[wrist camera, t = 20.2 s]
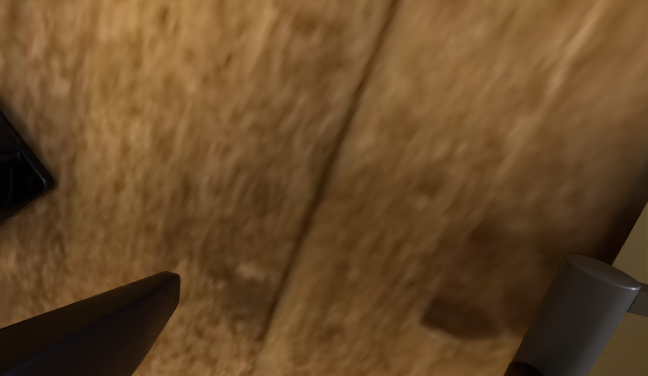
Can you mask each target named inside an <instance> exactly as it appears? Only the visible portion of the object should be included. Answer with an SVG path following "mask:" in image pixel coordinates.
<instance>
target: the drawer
mask: <svg viewBox="0 0 648 376" xmlns="http://www.w3.org/2000/svg"><path fill="white" fill-rule="evenodd" d="M512 361H520V362H524V363H527V364H530V365H532V366H533V367H534V368H535V369H537V370H538V371H539V372H540V373H541V374H542V375H544V376H648V202H647V204H646V206H645V207H644V209H643V211H642V213H641V215H640V216H639V218H638V220H637V222H636V223H635V225H634V227H633V229H632V231H631V232H630V234H629V236H628V238H627V240H626V241H625V243H624V245H623V247H622V248H621V250H620V252H619V254H618V256H617V257H616V259H615V261H614V263H613V264H612V266H611V265H609V264H607V263H604V262H602V261H599V260H596V259H593V258H590V257H587V256H583V255H578V254H567V255H565V256H564V258H563V260H562V262H561V264H560V266H559V268H558V270H557V272H556V274H555V276H554V278H553V280H552V282H551V284H550V286H549V288H548V290H547V292H546V294H545V296H544V298H543V300H542V302H541V304H540V306H539V308H538V310H537V312H536V314H535V316H534V318H533V320H532V322H531V324H530V326H529V328H528V330H527V332H526V334H525V336H524V338H523V340H522V342H521V344H520V346H519V348H518V350H517V352H516V354H515V356H514V358H513V360H512Z"/></svg>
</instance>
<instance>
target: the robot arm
mask: <svg viewBox="0 0 648 376" xmlns="http://www.w3.org/2000/svg"><path fill="white" fill-rule="evenodd" d="M54 185H55V184H54V180H53V178H52V176H51V175H50V174H49V172H48V171H47V170H46V168H45V167H44V166H43V165H42V163H41V162H40V161H39V159H38V158H37V157H36V156H35V154H34V153H33V152H32V150H31V149H30V148H29V147H28V145H27V144H26V143H25V141H24V140H23V139H22V138H21V136H20V135H19V134H18V132H17V131H16V130H15V129H14V127H13V126H12V125H11V123H10V122H9V121H8V120H7V118H6V117H5V116H4V114H3V113H2V112H1V111H0V226H2V225H3V224H5V223H6V222H8V221H9V220H11V219H12V218H13V217H15V216H16V215H18V214H19V213H21V212H22V211H24V210H25V209H26V208H28V207H29V206H31V205H32V204H34V203H35V202H37V201H38V200H39V199H41V198H42V197H44V196H45V195H47V194H48V193H50V192H51V191H52V190H53V189H54ZM180 282H181V278H180V276H179V275H178V274H176V273H172V272H168V271H164V272H161V273H158V274H155V275H152V276H149V277H146V278H144V279H141V280H138V281H135V282H132V283H129V284H127V285H124V286H121V287H118V288H115V289H112V290H109V291H107V292H104V293H101V294H98V295H95V296H92V297H89V298H87V299H84V300H81V301H78V302H75V303H72V304H69V305H67V306H64V307H61V308H58V309H55V310H52V311H49V312H47V313H44V314H41V315H38V316H35V317H32V318H29V319H27V320H24V321H21V322H18V323H15V324H12V325H9V326H7V327H4V328H1V329H0V376H131V375H132V374H133V373H134V372H135V370H136V369H137V368H138V366H139V365H140V364H141V362H142V361H143V359H144V358H145V356H146V355H147V353H148V352H149V350H150V349H151V347H152V346H153V344H154V342H155V341H156V339H157V338H158V336H159V335H160V333H161V331H162V330H163V328H164V327H165V325H166V324H167V322H168V320H169V319H170V317H171V316H172V314H173V312H174V311H175V309H176V308H177V305H178V303H179V298H180ZM504 376H544V375H542V374H541V373H540V372H539V371H538V370H537V369H535V368H534V367H533V366H532V365H530V364H527V363H524V362H520V361H512V362H510V364H509V366H508V368H507V370H506V372H505V374H504Z"/></svg>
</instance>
